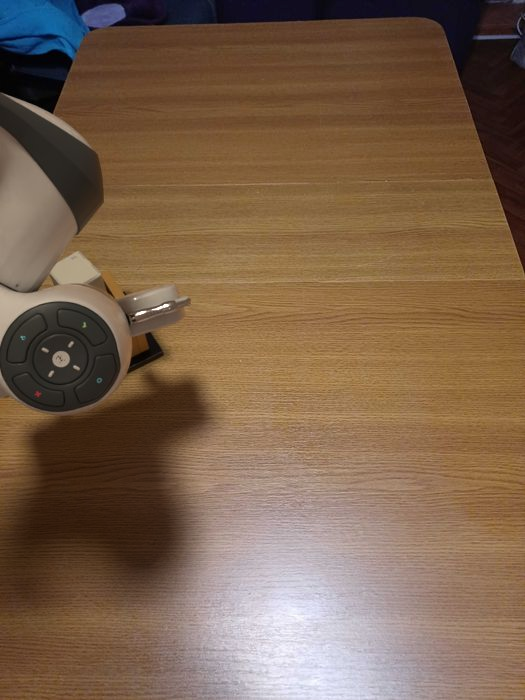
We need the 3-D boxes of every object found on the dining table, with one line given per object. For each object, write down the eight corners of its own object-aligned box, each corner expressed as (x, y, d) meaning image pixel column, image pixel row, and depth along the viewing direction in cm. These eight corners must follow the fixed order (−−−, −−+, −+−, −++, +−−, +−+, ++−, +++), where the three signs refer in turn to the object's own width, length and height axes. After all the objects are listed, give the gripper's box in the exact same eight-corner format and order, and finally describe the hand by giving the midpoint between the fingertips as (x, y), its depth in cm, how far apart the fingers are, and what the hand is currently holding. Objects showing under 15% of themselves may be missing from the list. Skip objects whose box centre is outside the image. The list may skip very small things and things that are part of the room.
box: (75, 336, 79) (42, 266, 68) (104, 318, 80) (77, 247, 70) (97, 361, 76) (67, 293, 66) (127, 342, 78) (101, 272, 67)
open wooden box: (75, 399, 74) (58, 367, 69) (41, 333, 80) (23, 299, 75) (164, 355, 77) (154, 321, 72) (125, 294, 84) (113, 259, 78)
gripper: (183, 265, 54) (169, 268, 67) (-59, 334, 50) (-22, 322, 63) (203, 334, 55) (186, 323, 68) (-31, 407, 51) (-1, 380, 64)
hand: (85, 323), depth 66 cm, fingers open, 8 cm apart
